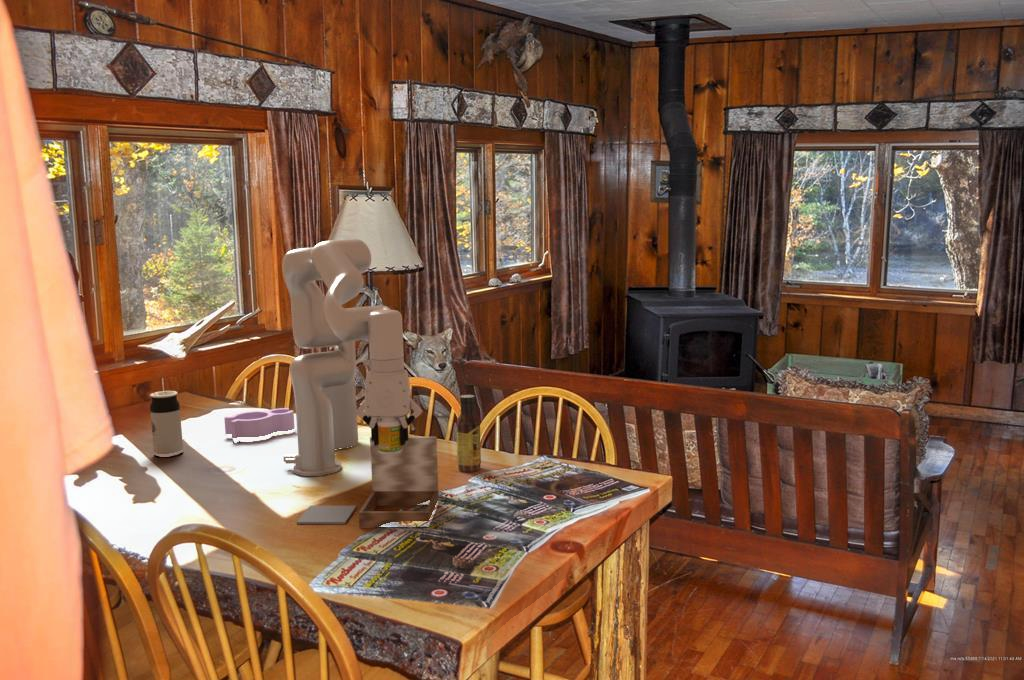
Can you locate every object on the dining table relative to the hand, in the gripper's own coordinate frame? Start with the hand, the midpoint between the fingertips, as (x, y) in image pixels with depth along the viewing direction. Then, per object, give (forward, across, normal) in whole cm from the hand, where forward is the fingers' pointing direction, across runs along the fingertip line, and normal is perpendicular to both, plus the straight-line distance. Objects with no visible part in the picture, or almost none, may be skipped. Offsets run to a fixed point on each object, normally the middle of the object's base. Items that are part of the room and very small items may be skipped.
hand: (390, 443), depth 213 cm
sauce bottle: (+17, +14, +36) cm, 42 cm away
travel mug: (+18, -75, +52) cm, 93 cm away
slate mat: (+17, -15, 0) cm, 23 cm away
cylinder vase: (+18, -28, +61) cm, 69 cm away
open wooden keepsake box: (+17, +2, 0) cm, 17 cm away
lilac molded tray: (+18, -54, +73) cm, 93 cm away
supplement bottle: (+2, 0, 0) cm, 2 cm away
